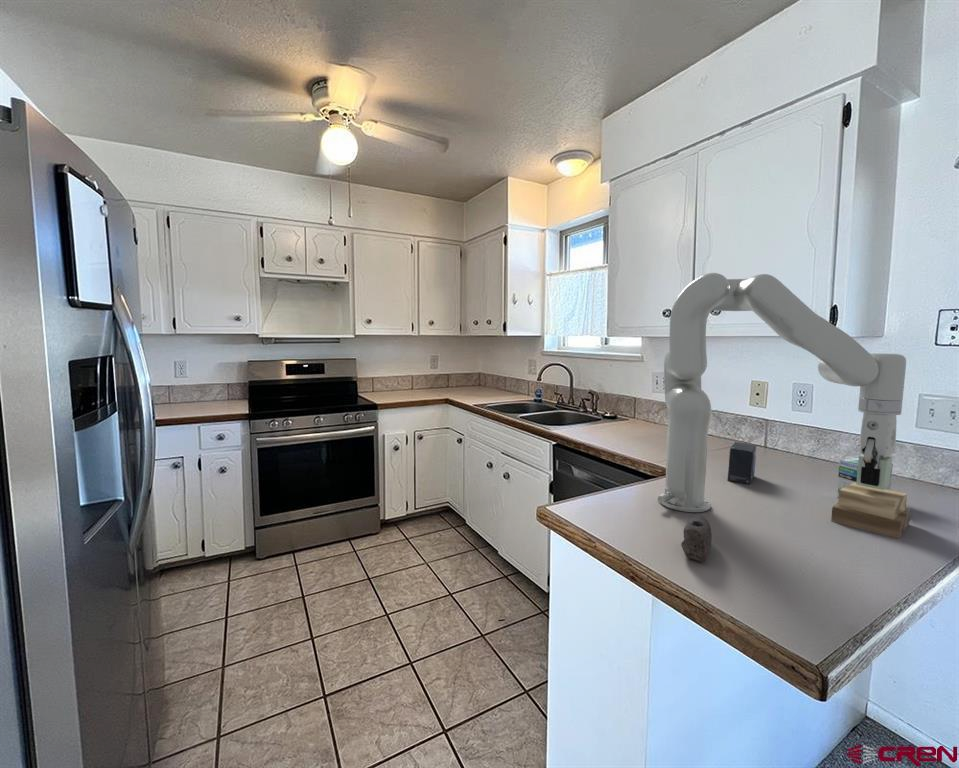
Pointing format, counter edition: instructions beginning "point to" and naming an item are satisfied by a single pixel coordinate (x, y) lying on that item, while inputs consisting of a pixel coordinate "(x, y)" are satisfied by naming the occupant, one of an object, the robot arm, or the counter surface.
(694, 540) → the perforated stone tool
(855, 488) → the oak slab
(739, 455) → the small box
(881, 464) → the sage block
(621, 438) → the counter surface
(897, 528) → the walnut slab
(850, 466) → the light bulb box
